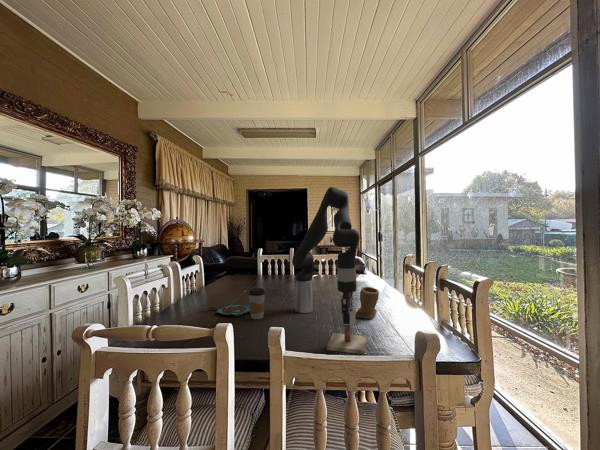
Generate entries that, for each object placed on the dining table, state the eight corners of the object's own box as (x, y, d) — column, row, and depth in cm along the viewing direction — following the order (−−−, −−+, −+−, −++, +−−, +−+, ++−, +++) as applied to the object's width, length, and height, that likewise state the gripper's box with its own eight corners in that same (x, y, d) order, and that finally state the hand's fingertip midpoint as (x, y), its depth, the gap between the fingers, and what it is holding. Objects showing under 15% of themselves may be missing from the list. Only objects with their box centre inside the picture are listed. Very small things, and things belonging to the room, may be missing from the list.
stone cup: (376, 321, 142) (376, 291, 142) (353, 318, 147) (352, 289, 147) (382, 313, 156) (381, 285, 156) (360, 310, 161) (360, 283, 161)
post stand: (326, 349, 110) (326, 322, 110) (333, 336, 124) (333, 312, 124) (364, 354, 106) (363, 325, 106) (367, 339, 119) (366, 314, 119)
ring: (338, 324, 113) (338, 311, 113) (341, 319, 119) (341, 307, 119) (354, 325, 111) (354, 312, 111) (356, 320, 117) (355, 308, 117)
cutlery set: (239, 319, 148) (239, 315, 148) (195, 314, 161) (195, 310, 161) (260, 310, 166) (260, 306, 166) (219, 305, 179) (219, 302, 179)
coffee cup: (268, 317, 152) (267, 288, 152) (259, 321, 144) (259, 291, 144) (255, 315, 155) (254, 287, 156) (245, 319, 148) (245, 290, 148)
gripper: (340, 275, 123) (341, 315, 123) (334, 282, 109) (334, 326, 109) (358, 276, 121) (358, 316, 121) (354, 282, 107) (354, 328, 107)
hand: (347, 321), depth 115 cm, fingers closed on ring, 6 cm apart
